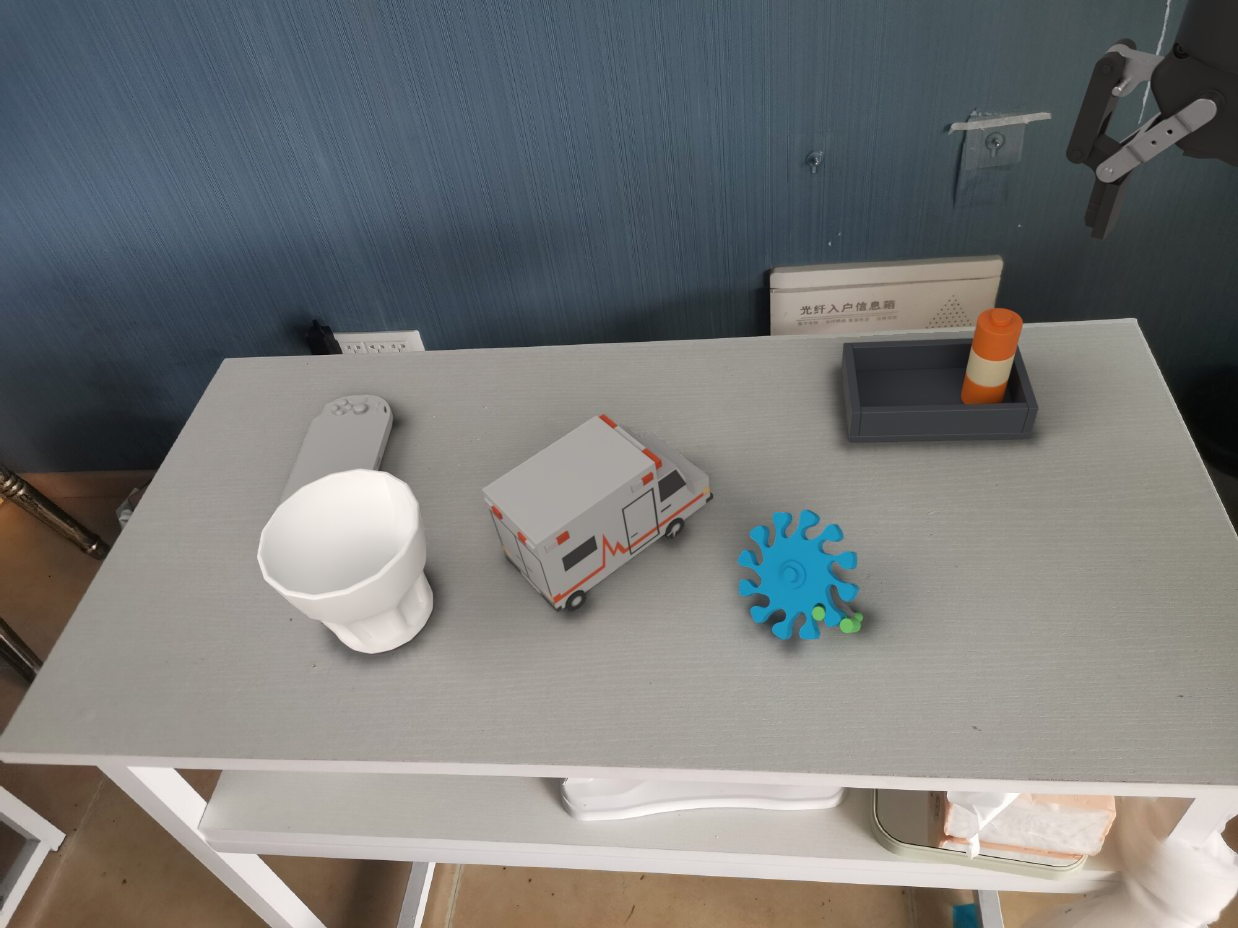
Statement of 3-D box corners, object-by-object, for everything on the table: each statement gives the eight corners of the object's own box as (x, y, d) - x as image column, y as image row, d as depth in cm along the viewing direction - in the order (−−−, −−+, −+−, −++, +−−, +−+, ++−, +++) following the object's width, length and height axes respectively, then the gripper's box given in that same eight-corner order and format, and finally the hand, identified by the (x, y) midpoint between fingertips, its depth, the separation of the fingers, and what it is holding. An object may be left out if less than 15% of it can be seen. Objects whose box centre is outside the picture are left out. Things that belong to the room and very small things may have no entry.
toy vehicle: (722, 511, 77) (717, 431, 70) (564, 628, 71) (541, 554, 64) (651, 455, 83) (640, 376, 76) (500, 559, 77) (472, 483, 70)
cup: (281, 645, 74) (221, 567, 66) (371, 534, 81) (327, 451, 73) (400, 698, 69) (351, 621, 61) (484, 575, 76) (451, 491, 68)
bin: (1007, 367, 85) (1015, 336, 82) (1029, 439, 79) (1039, 408, 76) (840, 372, 87) (843, 342, 85) (849, 442, 81) (852, 413, 78)
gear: (710, 571, 71) (789, 481, 67) (748, 571, 76) (824, 486, 72) (798, 681, 65) (890, 588, 62) (833, 674, 70) (921, 587, 66)
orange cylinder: (1011, 400, 81) (1034, 317, 74) (980, 417, 80) (1001, 334, 73) (981, 379, 83) (1001, 296, 76) (952, 395, 82) (969, 313, 75)
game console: (351, 528, 78) (263, 531, 79) (360, 545, 80) (274, 548, 81) (395, 389, 90) (319, 394, 91) (402, 406, 92) (327, 410, 93)
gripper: (1104, -53, 40) (1027, 252, 52) (1504, -10, 33) (1308, 332, 45) (1162, -106, 43) (1077, 191, 55) (1535, -78, 36) (1346, 256, 48)
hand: (1181, 254), depth 50 cm, fingers open, 8 cm apart
